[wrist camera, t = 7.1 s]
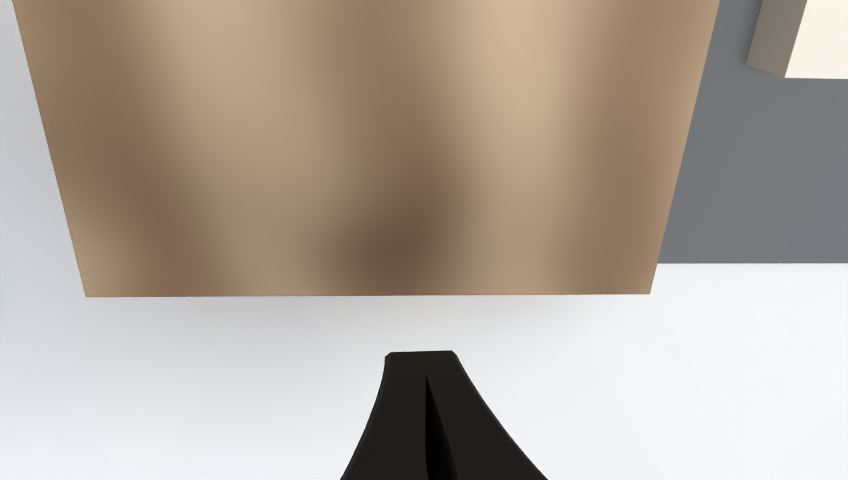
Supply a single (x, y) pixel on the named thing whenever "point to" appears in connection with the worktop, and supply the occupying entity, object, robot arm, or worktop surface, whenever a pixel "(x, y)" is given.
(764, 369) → the worktop surface
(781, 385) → the worktop surface
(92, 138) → the butcher block
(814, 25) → the cream flat block
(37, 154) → the worktop surface
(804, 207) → the mat
